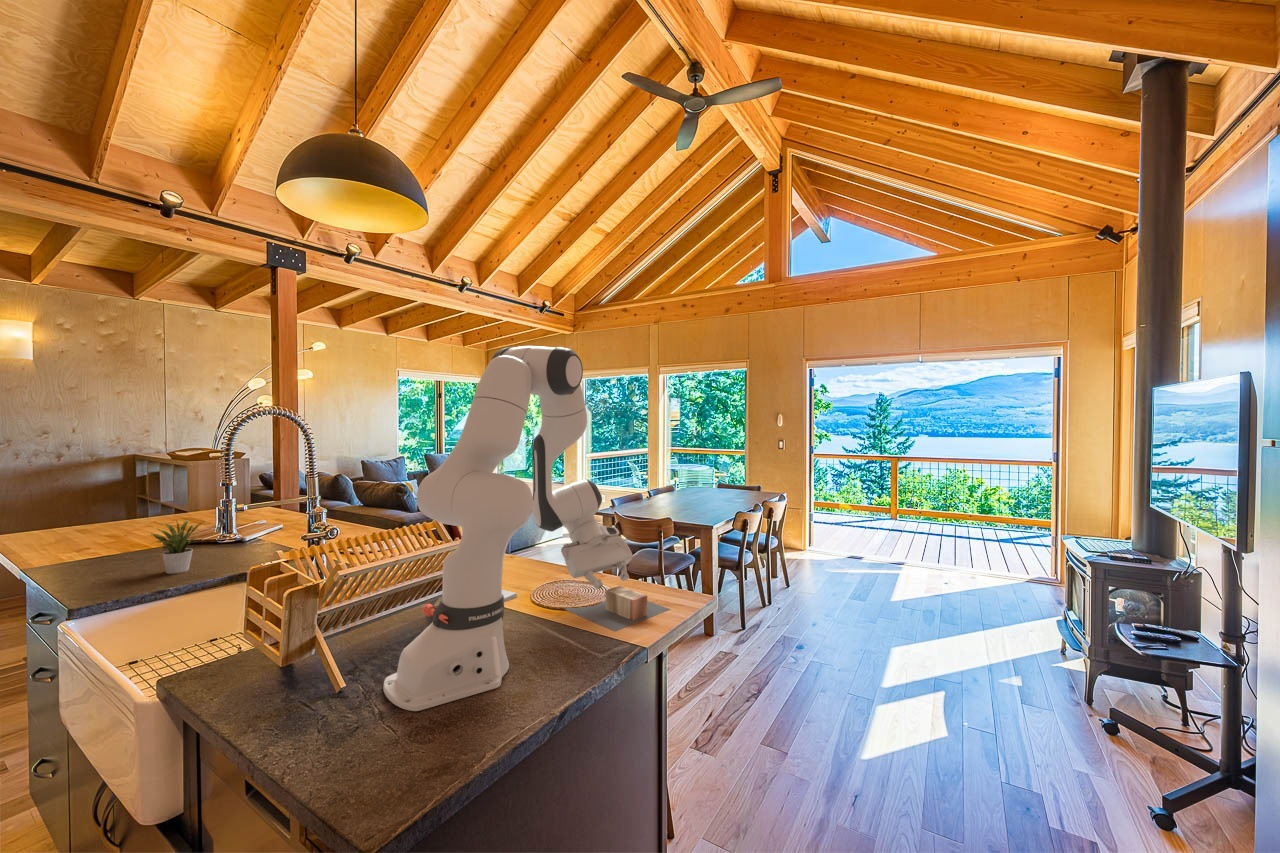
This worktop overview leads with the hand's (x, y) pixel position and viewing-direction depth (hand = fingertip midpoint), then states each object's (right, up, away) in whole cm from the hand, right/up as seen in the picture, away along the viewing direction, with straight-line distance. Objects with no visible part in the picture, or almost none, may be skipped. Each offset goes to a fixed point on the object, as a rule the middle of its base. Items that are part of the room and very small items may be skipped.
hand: (613, 583), depth 133 cm
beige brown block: (0, -4, 0) cm, 4 cm away
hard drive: (-34, -7, +5) cm, 35 cm away
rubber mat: (+1, -7, -1) cm, 7 cm away
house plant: (-136, -4, +27) cm, 139 cm away
